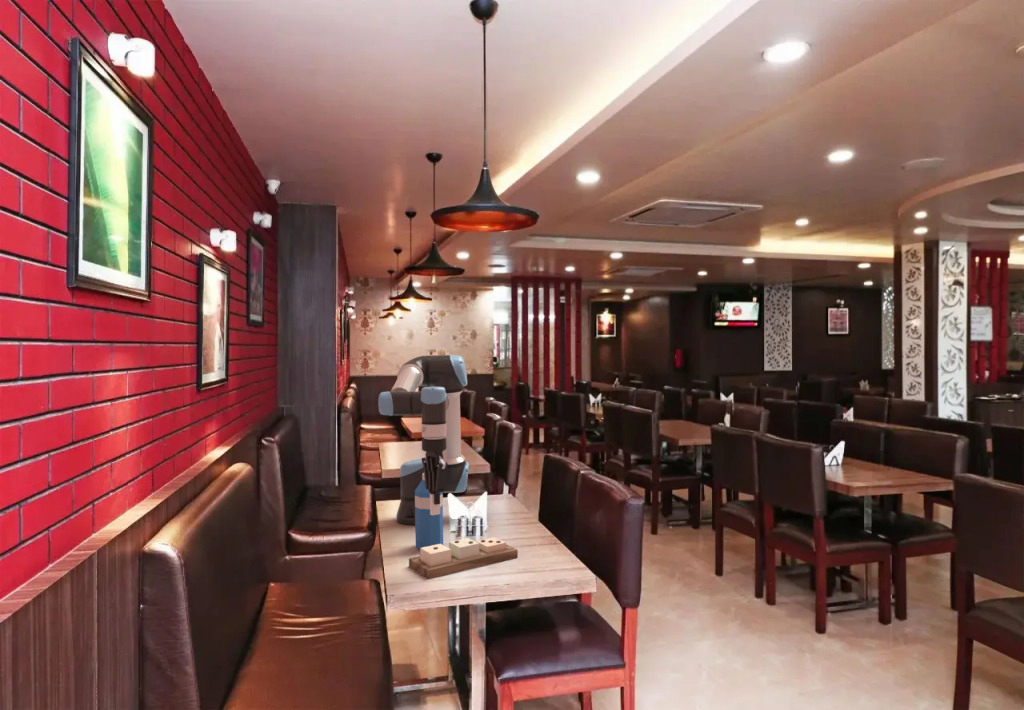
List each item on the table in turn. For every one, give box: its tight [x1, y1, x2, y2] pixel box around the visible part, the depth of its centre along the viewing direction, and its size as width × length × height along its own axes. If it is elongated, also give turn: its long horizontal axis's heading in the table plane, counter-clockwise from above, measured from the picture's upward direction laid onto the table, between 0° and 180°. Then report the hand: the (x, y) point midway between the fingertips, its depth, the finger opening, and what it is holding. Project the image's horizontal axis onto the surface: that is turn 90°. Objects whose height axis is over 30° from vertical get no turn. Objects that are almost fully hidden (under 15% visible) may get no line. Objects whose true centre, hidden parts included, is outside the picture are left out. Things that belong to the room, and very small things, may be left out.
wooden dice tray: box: [408, 544, 519, 580], centre depth 207 cm, size 13×32×2 cm, turn 124°
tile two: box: [448, 537, 479, 560], centre depth 207 cm, size 7×7×4 cm
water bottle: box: [414, 473, 444, 551], centre depth 222 cm, size 9×9×25 cm
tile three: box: [475, 536, 507, 553], centre depth 212 cm, size 7×7×4 cm
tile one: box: [419, 544, 451, 567], centre depth 201 cm, size 7×7×4 cm
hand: (435, 514), depth 200 cm, fingers closed
